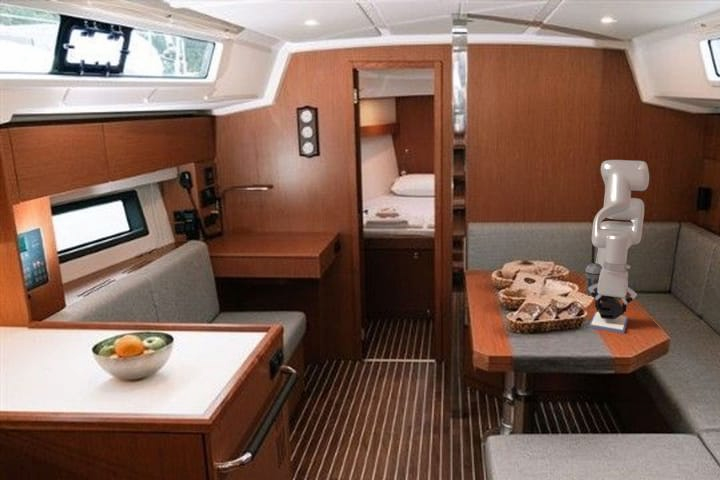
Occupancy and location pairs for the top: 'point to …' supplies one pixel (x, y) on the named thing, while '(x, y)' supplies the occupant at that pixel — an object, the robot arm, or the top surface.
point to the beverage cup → (592, 276)
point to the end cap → (610, 307)
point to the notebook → (609, 323)
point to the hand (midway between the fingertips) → (610, 311)
